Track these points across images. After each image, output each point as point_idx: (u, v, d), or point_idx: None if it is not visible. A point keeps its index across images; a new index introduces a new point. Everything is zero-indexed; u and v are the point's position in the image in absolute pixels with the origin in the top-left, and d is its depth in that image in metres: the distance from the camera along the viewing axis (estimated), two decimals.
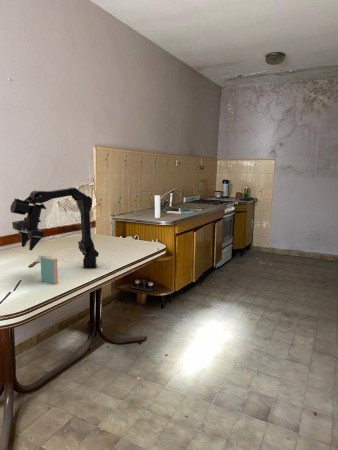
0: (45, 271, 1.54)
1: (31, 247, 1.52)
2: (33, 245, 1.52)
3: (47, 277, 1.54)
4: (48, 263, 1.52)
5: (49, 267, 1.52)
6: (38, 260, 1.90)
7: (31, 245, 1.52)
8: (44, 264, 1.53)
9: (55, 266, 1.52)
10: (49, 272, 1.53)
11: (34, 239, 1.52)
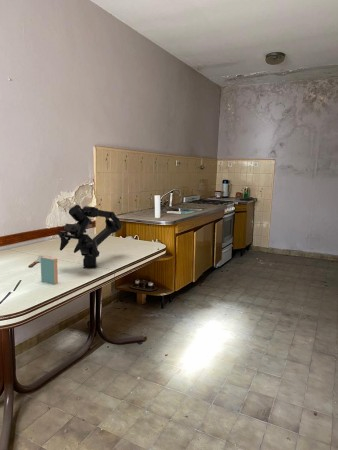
0: (45, 271, 1.54)
1: (76, 250, 1.63)
2: (78, 249, 1.64)
3: (47, 277, 1.54)
4: (48, 263, 1.52)
5: (49, 267, 1.52)
6: (38, 260, 1.90)
7: (77, 248, 1.63)
8: (44, 264, 1.53)
9: (55, 266, 1.52)
10: (49, 272, 1.53)
11: (81, 244, 1.65)
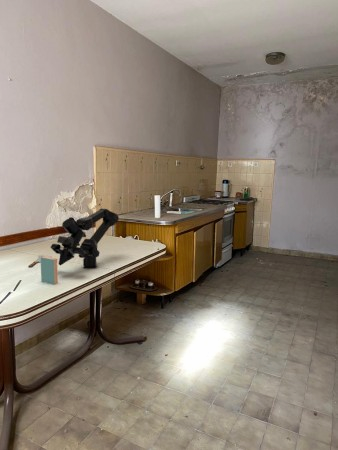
0: (45, 271, 1.54)
1: (62, 262, 1.61)
2: (64, 261, 1.61)
3: (47, 277, 1.54)
4: (48, 263, 1.52)
5: (49, 267, 1.52)
6: (38, 260, 1.90)
7: (63, 260, 1.61)
8: (44, 264, 1.53)
9: (55, 266, 1.52)
10: (49, 272, 1.53)
11: (67, 256, 1.63)
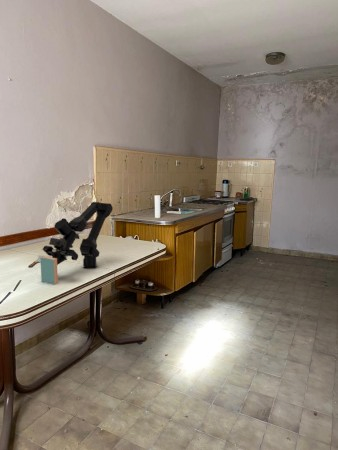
0: (45, 271, 1.54)
1: None
2: None
3: (47, 277, 1.54)
4: (48, 263, 1.52)
5: (49, 267, 1.52)
6: (38, 260, 1.90)
7: None
8: (44, 264, 1.53)
9: (55, 266, 1.52)
10: (49, 272, 1.53)
11: (59, 258, 1.58)
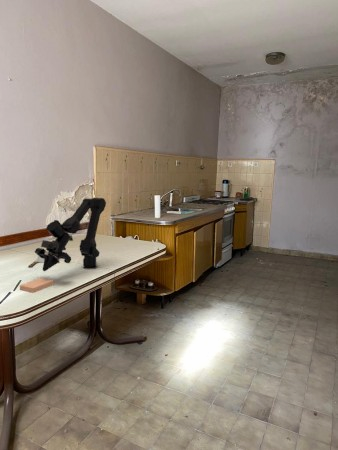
0: None
1: (46, 268, 1.52)
2: (48, 266, 1.53)
3: None
4: None
5: None
6: (38, 260, 1.90)
7: (47, 266, 1.52)
8: None
9: (39, 288, 1.45)
10: None
11: (52, 261, 1.54)
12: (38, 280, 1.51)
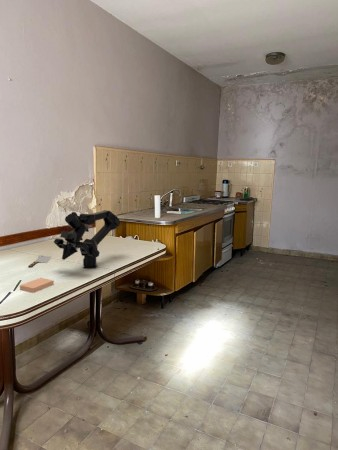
0: None
1: (65, 256, 1.62)
2: (67, 255, 1.63)
3: None
4: None
5: None
6: (38, 260, 1.90)
7: (66, 255, 1.62)
8: None
9: (39, 288, 1.45)
10: None
11: (70, 250, 1.64)
12: (38, 280, 1.51)
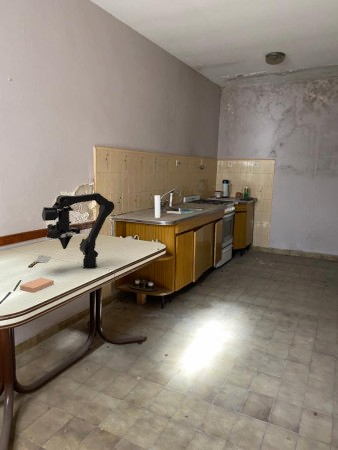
0: None
1: (63, 246, 1.70)
2: (63, 244, 1.70)
3: None
4: None
5: None
6: (38, 260, 1.89)
7: (62, 244, 1.70)
8: None
9: (39, 288, 1.45)
10: None
11: (62, 239, 1.69)
12: (38, 280, 1.51)
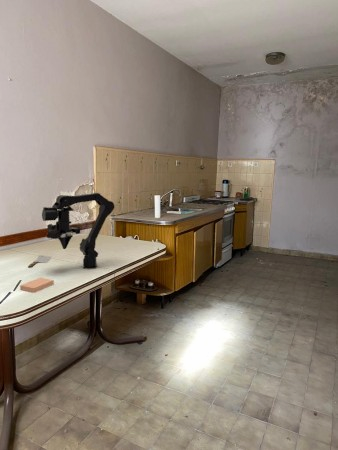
0: None
1: (63, 246, 1.70)
2: (63, 244, 1.70)
3: None
4: None
5: None
6: (38, 260, 1.89)
7: (62, 244, 1.70)
8: None
9: (40, 288, 1.45)
10: None
11: (62, 239, 1.69)
12: (38, 280, 1.51)
